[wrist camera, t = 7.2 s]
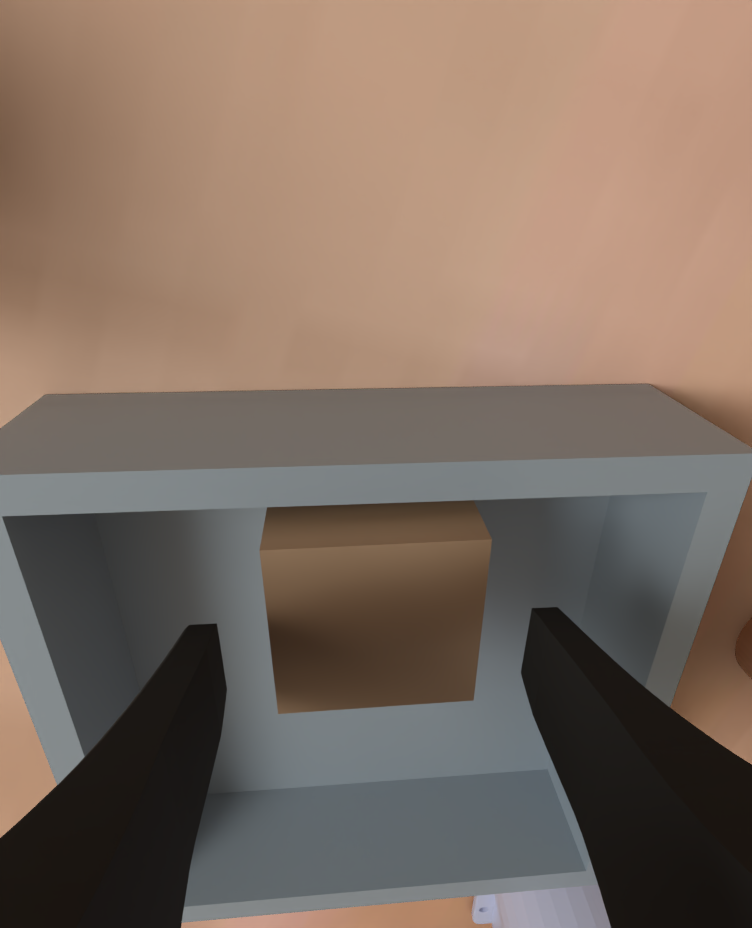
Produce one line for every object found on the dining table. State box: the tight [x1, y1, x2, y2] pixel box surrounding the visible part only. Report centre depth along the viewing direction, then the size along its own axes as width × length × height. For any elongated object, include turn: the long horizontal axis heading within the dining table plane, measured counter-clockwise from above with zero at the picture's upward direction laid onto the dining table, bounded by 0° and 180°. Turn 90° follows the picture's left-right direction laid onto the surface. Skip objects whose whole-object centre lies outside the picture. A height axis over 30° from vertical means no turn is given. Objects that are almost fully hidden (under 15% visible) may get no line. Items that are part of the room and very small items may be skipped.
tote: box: [0, 384, 752, 922], centre depth 18 cm, size 18×18×5 cm
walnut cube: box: [259, 500, 492, 714], centre depth 15 cm, size 5×5×5 cm
